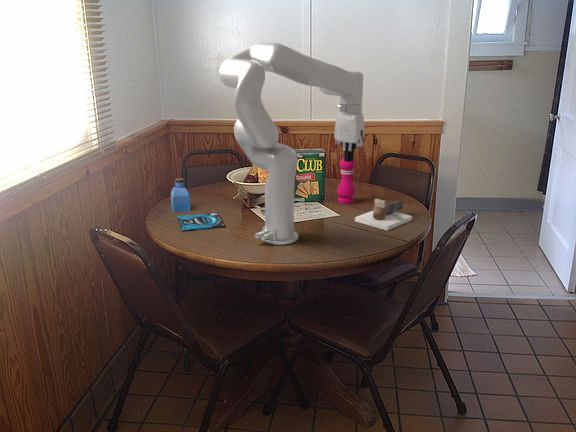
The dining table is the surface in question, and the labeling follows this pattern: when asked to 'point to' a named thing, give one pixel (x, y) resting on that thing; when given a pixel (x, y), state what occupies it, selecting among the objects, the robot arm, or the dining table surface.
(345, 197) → the pepper mill
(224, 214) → the dining table surface
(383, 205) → the brown grey handled piece
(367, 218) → the dial board
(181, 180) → the perfume bottle
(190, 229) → the guitar string package
